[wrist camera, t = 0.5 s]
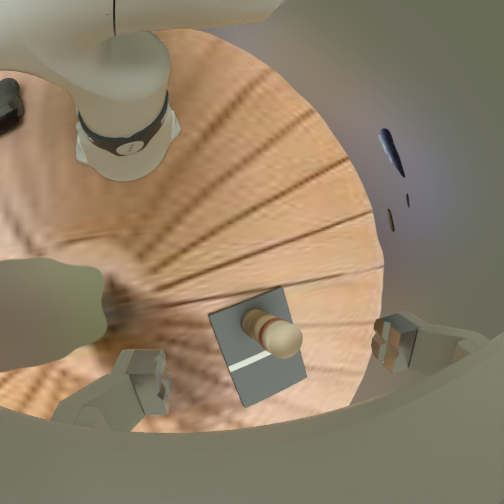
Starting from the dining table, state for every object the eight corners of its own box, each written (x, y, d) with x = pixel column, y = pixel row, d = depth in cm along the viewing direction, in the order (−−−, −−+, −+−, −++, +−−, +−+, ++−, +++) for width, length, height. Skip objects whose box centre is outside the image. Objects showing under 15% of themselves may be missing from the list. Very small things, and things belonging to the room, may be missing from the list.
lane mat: (208, 314, 45) (209, 316, 44) (280, 286, 50) (283, 287, 49) (243, 405, 47) (245, 408, 46) (304, 375, 52) (307, 377, 50)
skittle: (236, 314, 46) (264, 332, 34) (263, 303, 47) (298, 317, 36) (245, 341, 46) (274, 365, 35) (271, 329, 48) (306, 349, 37)
